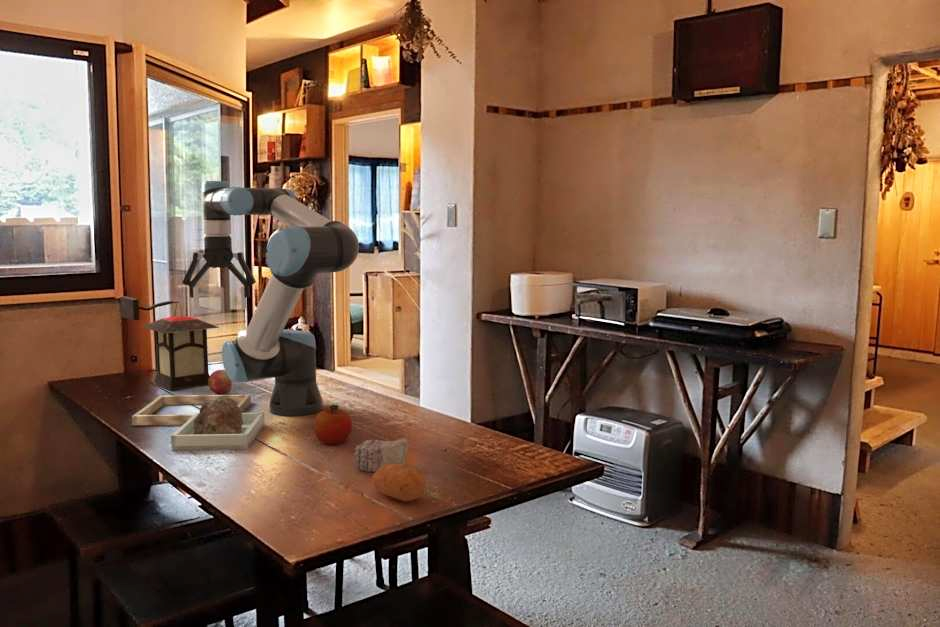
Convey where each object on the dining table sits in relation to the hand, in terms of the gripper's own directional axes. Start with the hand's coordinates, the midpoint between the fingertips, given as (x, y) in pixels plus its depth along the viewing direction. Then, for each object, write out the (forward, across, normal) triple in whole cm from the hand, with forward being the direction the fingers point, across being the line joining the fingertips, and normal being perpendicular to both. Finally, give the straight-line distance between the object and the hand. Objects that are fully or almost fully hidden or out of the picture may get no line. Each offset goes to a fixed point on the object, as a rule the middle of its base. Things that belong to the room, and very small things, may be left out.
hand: (220, 308), depth 228 cm
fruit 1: (+29, +4, -13) cm, 32 cm away
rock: (+28, -7, +33) cm, 44 cm away
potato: (+29, -53, +78) cm, 99 cm away
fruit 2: (+29, -36, +39) cm, 60 cm away
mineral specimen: (+29, -48, +59) cm, 81 cm away
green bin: (+29, -7, +33) cm, 44 cm away
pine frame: (+29, +6, +9) cm, 31 cm away
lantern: (+29, +23, -26) cm, 45 cm away
